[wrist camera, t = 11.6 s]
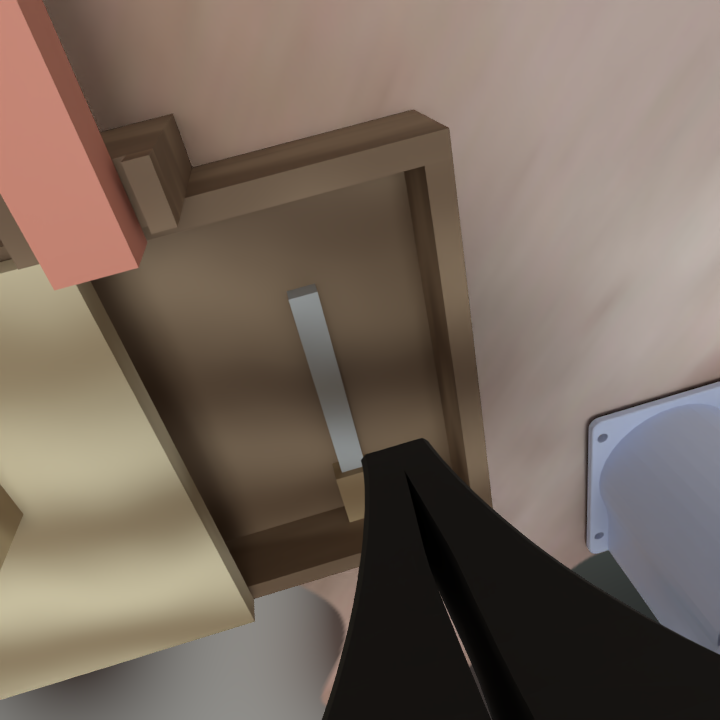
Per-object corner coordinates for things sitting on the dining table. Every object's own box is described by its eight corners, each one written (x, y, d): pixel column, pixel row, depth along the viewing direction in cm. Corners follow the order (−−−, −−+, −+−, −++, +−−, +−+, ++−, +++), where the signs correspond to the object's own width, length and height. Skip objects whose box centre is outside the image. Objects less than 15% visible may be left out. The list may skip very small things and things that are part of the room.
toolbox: (465, 469, 27) (518, 572, 22) (87, 582, 26) (52, 717, 21) (405, 53, 17) (476, 69, 12) (-198, 208, 16) (-384, 293, 11)
